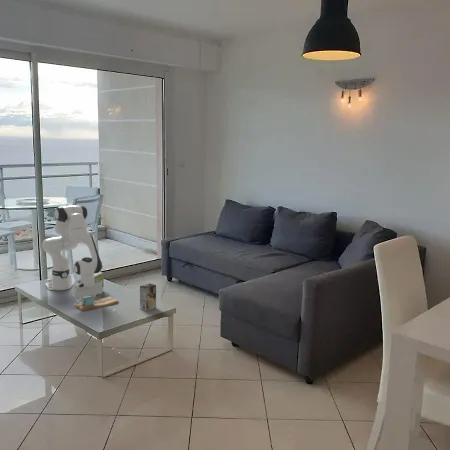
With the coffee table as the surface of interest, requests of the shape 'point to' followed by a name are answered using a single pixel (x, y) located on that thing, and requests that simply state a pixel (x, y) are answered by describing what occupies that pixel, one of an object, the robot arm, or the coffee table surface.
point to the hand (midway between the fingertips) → (87, 302)
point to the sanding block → (88, 301)
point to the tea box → (99, 278)
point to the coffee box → (147, 297)
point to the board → (98, 303)
